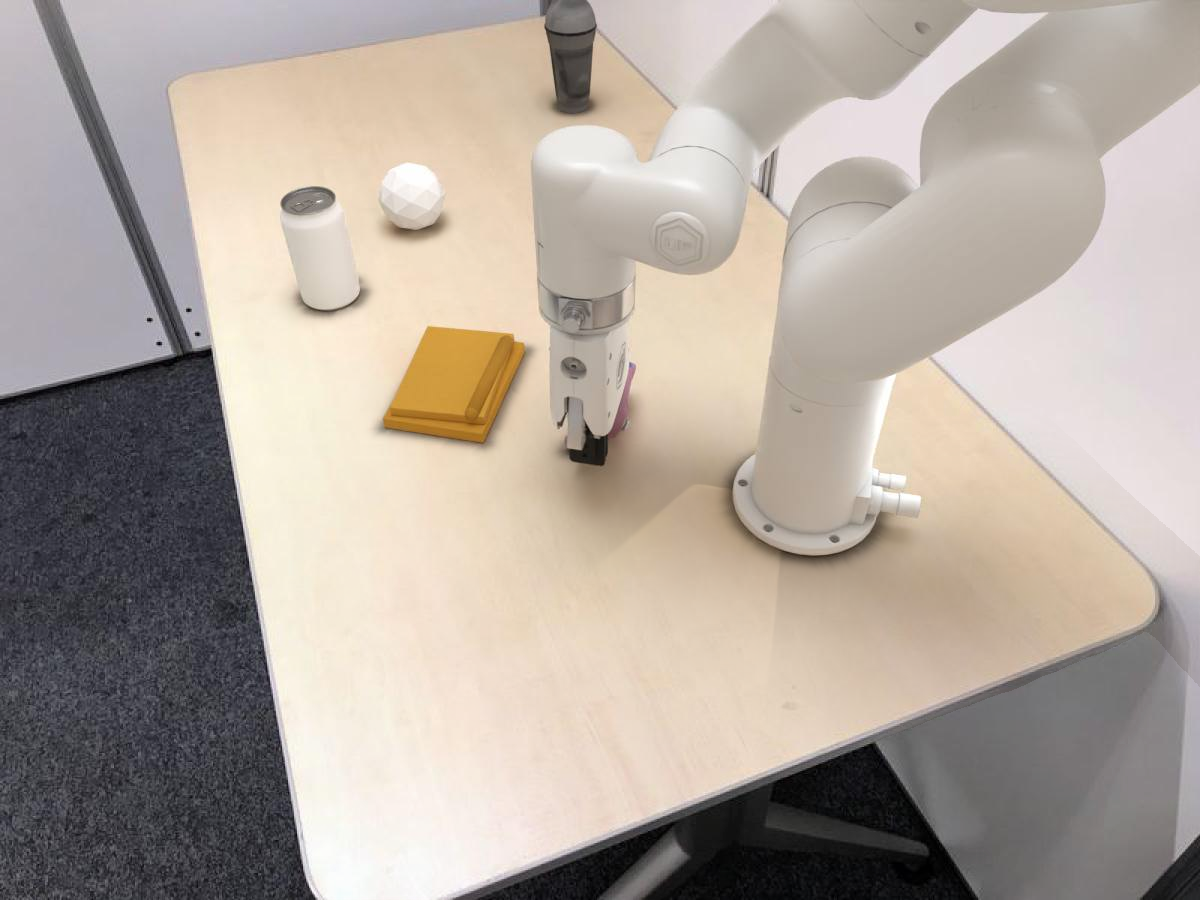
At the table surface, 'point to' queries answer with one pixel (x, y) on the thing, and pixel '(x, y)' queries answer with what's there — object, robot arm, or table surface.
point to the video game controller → (620, 407)
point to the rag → (455, 383)
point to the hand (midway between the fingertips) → (588, 457)
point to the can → (319, 248)
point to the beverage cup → (571, 51)
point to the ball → (411, 196)
